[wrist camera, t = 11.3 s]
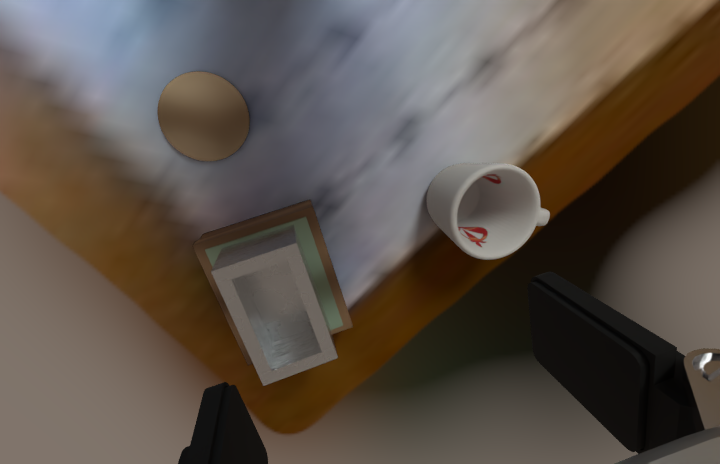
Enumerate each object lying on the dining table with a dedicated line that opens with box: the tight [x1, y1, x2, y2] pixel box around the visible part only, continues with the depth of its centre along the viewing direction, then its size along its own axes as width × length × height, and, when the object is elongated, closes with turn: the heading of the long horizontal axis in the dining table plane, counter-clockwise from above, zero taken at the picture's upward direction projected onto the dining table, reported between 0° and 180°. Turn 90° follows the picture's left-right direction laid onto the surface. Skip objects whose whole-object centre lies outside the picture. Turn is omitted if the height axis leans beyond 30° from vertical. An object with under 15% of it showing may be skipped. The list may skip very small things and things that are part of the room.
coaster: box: [158, 71, 250, 161], centre depth 30 cm, size 7×7×1 cm
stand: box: [193, 200, 353, 365], centre depth 34 cm, size 12×10×4 cm
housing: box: [211, 224, 338, 386], centre depth 29 cm, size 10×6×5 cm, turn 16°
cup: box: [427, 163, 550, 260], centre depth 34 cm, size 11×8×8 cm
